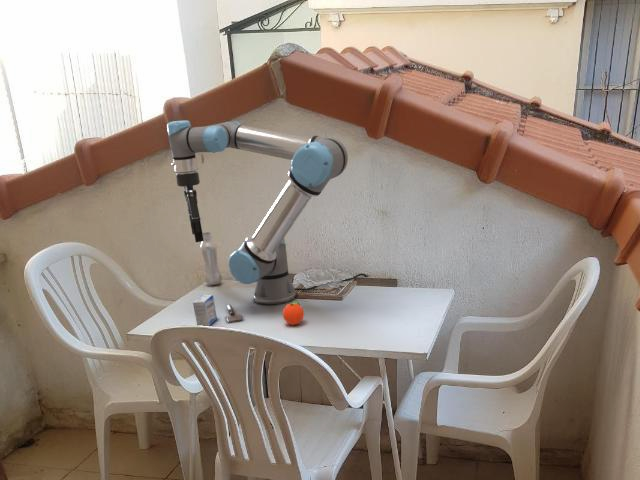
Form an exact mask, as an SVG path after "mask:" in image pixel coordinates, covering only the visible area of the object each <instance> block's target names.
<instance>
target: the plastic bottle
mask: <svg viewBox="0 0 640 480" xmlns="http://www.w3.org/2000/svg"><path fill="white" fill-rule="evenodd" d="M202 234H203V240H204V241H203V242H200V243H201V244H200V247H199V249H200V252H201V253H200V254H201V256H202V260H203V263H204V280H205V283H206V284H207V285H209V286H215V285H219V284H221V282H222V273H221V271H220V267H219V263H218V249H217V248H218V246H217V244H216V242H215V241H214V240H213V239H212V232H211V231H210V232H209V231H208V232H207V231H206V232H202Z"/></svg>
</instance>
